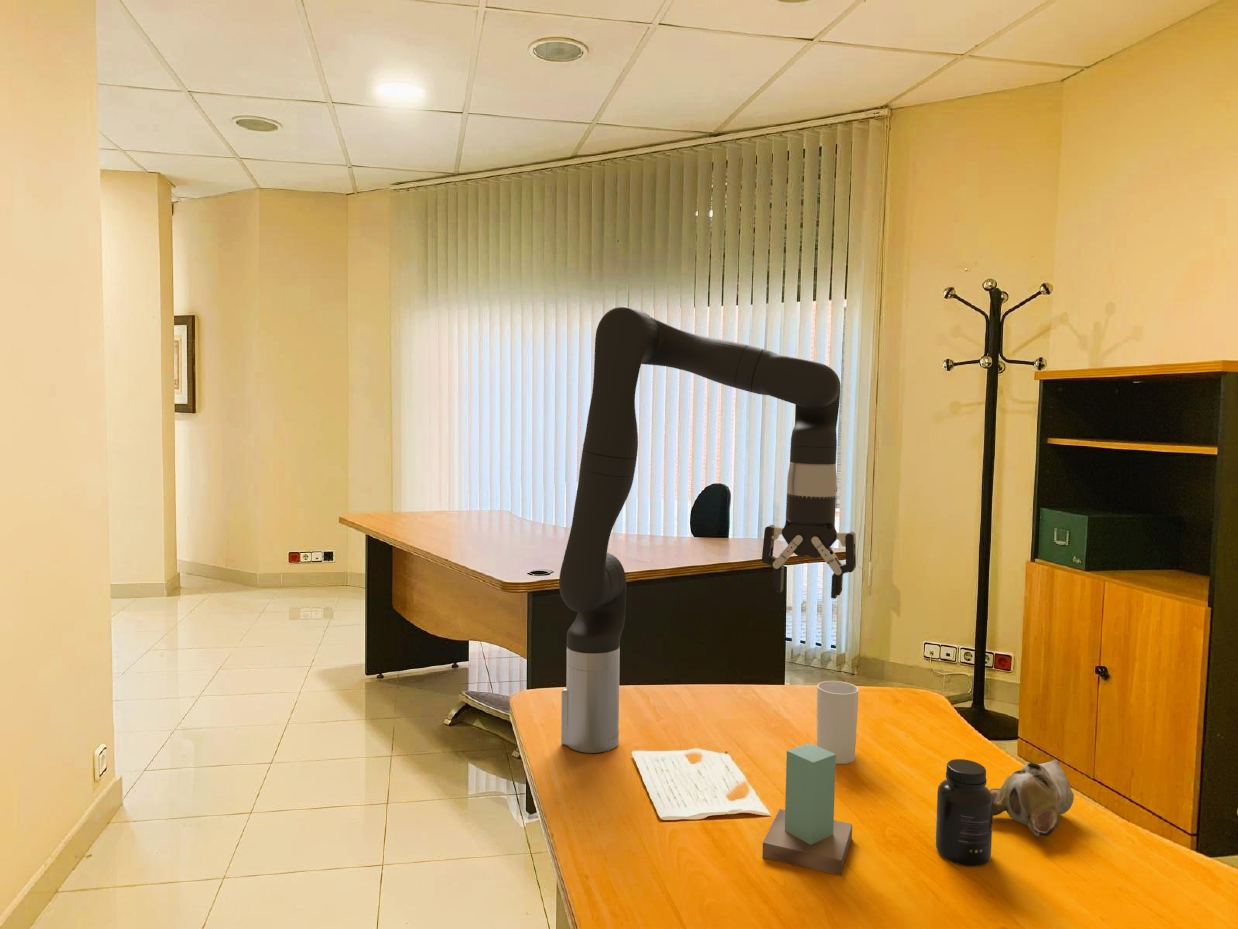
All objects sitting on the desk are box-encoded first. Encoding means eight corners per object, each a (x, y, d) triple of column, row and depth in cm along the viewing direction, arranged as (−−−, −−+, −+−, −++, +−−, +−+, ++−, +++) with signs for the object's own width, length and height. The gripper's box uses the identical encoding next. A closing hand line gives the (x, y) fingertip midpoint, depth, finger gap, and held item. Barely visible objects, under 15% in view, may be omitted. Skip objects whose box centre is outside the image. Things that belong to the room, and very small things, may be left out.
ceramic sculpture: (1094, 761, 118) (1043, 796, 109) (1094, 819, 118) (1042, 858, 109) (1021, 738, 126) (967, 768, 117) (1021, 792, 127) (967, 826, 118)
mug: (849, 768, 134) (851, 697, 134) (809, 759, 138) (811, 689, 137) (866, 747, 143) (868, 680, 142) (828, 739, 147) (830, 673, 146)
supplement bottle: (926, 841, 112) (929, 755, 111) (974, 840, 112) (977, 754, 112) (950, 869, 105) (954, 778, 104) (1001, 867, 106) (1005, 776, 105)
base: (762, 857, 107) (762, 842, 107) (779, 822, 116) (779, 809, 116) (840, 875, 103) (841, 860, 103) (851, 838, 112) (852, 824, 112)
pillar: (784, 830, 110) (786, 750, 110) (807, 821, 113) (809, 743, 112) (810, 845, 107) (813, 762, 106) (833, 834, 109) (835, 754, 109)
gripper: (760, 491, 128) (756, 594, 129) (855, 497, 122) (850, 605, 123) (771, 487, 134) (767, 585, 136) (861, 493, 129) (856, 595, 130)
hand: (806, 594), depth 129 cm, fingers open, 8 cm apart
